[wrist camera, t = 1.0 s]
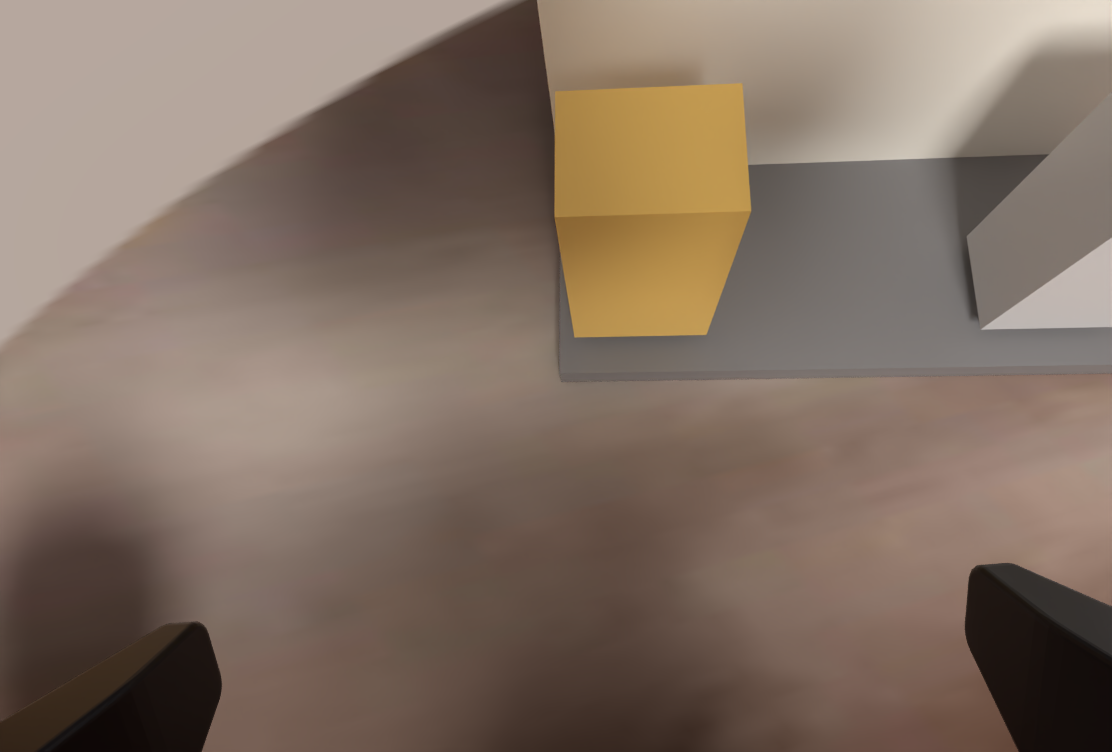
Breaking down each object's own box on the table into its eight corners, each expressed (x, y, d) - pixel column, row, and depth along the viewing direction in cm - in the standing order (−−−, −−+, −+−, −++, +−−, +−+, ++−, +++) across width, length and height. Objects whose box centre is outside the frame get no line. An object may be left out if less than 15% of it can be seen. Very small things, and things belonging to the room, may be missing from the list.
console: (1115, 373, 24) (1559, 184, 12) (561, 381, 25) (517, 217, 14) (1055, 64, 26) (1371, -310, 15) (562, 86, 28) (526, -246, 17)
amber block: (706, 335, 23) (751, 211, 16) (574, 337, 24) (554, 217, 16) (701, 243, 24) (742, 83, 16) (574, 247, 24) (555, 90, 17)
